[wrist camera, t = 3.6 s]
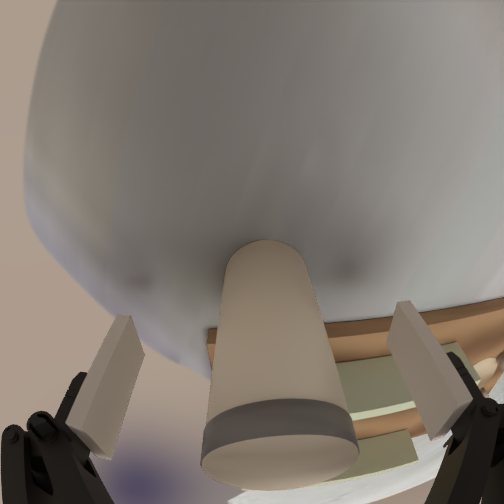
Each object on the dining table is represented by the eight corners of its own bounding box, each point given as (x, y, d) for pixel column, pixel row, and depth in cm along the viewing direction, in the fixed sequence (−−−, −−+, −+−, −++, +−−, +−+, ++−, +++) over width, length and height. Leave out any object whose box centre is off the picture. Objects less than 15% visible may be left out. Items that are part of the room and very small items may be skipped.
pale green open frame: (228, 369, 20) (224, 422, 16) (457, 341, 19) (481, 379, 15) (242, 454, 26) (242, 490, 22) (404, 432, 26) (415, 463, 22)
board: (208, 329, 20) (203, 360, 17) (533, 290, 20) (549, 306, 17) (234, 451, 29) (233, 472, 26) (467, 409, 29) (474, 424, 26)
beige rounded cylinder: (220, 240, 17) (184, 437, 6) (309, 237, 17) (379, 424, 6) (227, 311, 19) (213, 490, 9) (305, 308, 19) (342, 482, 9)
